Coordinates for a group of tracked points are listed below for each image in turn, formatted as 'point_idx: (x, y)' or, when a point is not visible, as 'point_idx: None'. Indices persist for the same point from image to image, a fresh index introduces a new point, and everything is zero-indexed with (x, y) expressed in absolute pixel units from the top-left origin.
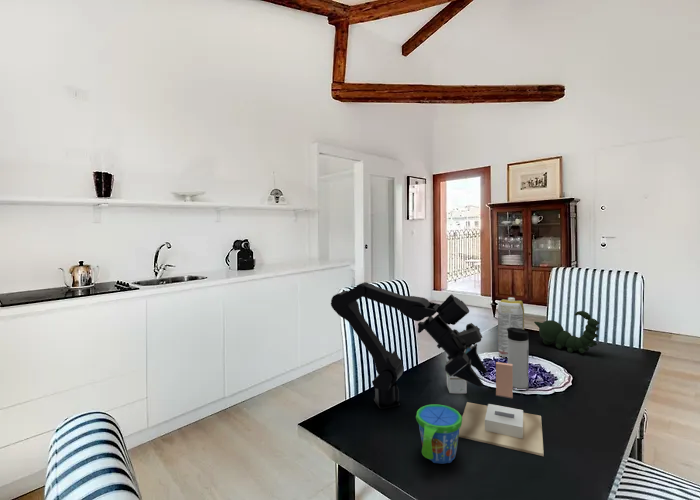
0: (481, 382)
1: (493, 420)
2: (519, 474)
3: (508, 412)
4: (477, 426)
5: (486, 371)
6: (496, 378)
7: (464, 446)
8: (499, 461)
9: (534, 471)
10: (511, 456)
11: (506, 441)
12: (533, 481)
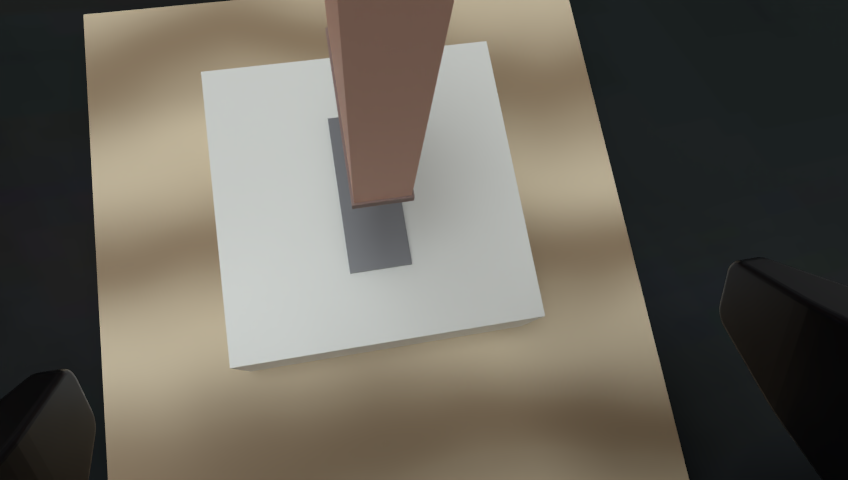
0: (802, 274)
1: (514, 249)
2: (789, 67)
3: (310, 168)
4: (497, 393)
5: (71, 373)
6: (435, 83)
7: (758, 404)
8: (756, 174)
9: (716, 8)
10: (667, 125)
11: (565, 167)
12: (794, 5)
